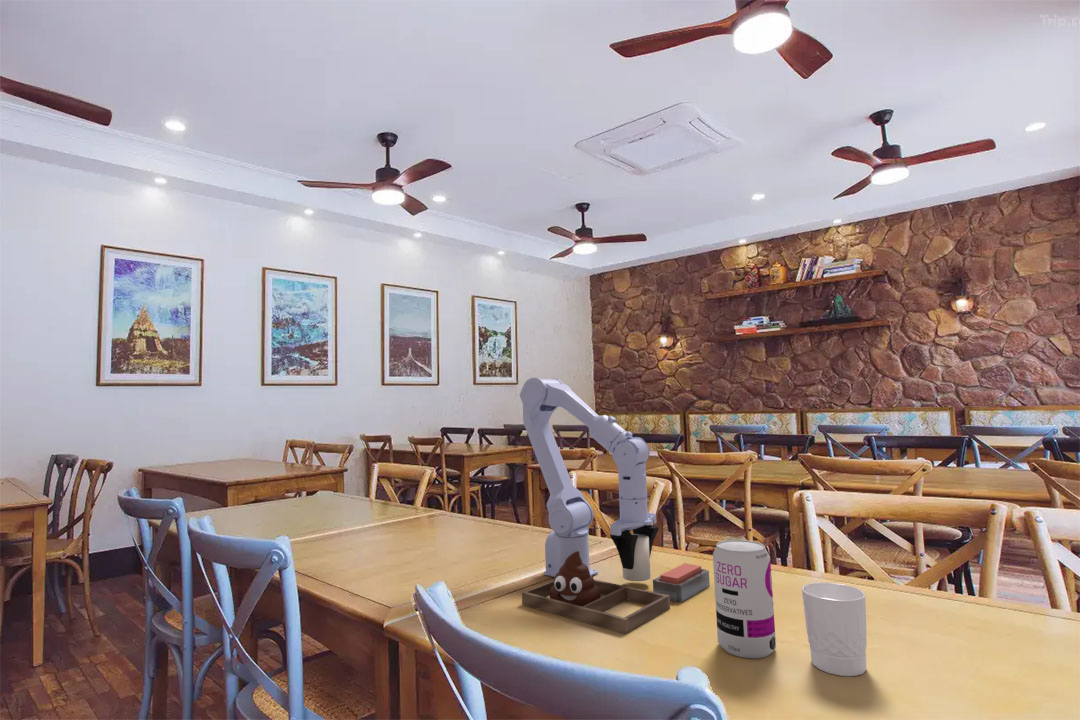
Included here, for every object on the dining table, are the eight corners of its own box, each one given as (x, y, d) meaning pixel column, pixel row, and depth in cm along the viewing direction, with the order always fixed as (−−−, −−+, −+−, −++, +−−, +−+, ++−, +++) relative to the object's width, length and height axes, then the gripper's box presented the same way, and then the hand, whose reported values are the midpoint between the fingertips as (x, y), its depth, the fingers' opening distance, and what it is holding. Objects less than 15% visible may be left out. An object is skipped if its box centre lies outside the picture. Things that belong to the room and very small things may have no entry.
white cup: (795, 655, 82) (790, 584, 83) (847, 651, 83) (842, 580, 83) (827, 681, 74) (822, 602, 75) (884, 676, 75) (878, 598, 76)
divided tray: (522, 604, 107) (521, 592, 107) (570, 584, 118) (569, 574, 118) (626, 633, 92) (625, 619, 92) (670, 608, 102) (669, 595, 102)
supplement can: (774, 640, 87) (767, 540, 89) (778, 663, 80) (770, 553, 81) (719, 634, 90) (713, 538, 91) (717, 657, 82) (711, 550, 83)
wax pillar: (617, 578, 116) (615, 538, 116) (632, 571, 120) (630, 532, 121) (641, 583, 112) (639, 541, 113) (655, 576, 116) (653, 536, 117)
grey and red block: (652, 596, 109) (651, 580, 109) (683, 580, 118) (682, 565, 118) (681, 602, 105) (680, 586, 105) (710, 585, 114) (709, 570, 114)
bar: (660, 591, 109) (660, 575, 109) (685, 578, 116) (684, 563, 117) (678, 594, 107) (677, 578, 107) (702, 581, 114) (701, 566, 114)
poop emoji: (607, 597, 110) (604, 547, 111) (592, 612, 102) (589, 558, 103) (559, 591, 114) (557, 544, 115) (541, 605, 106) (539, 554, 107)
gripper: (630, 504, 109) (633, 576, 108) (667, 494, 120) (671, 559, 119) (600, 501, 114) (603, 570, 113) (639, 491, 125) (642, 554, 124)
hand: (636, 564), depth 116 cm, fingers closed on wax pillar, 6 cm apart
